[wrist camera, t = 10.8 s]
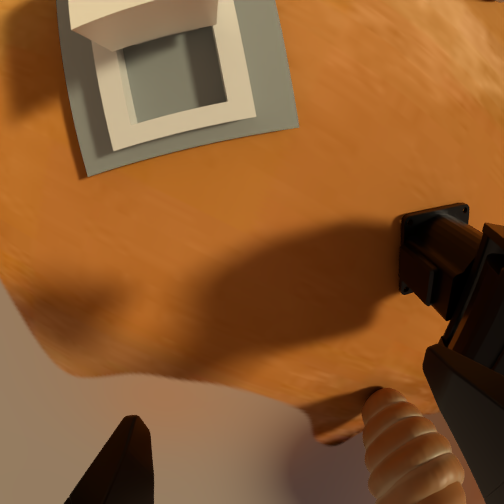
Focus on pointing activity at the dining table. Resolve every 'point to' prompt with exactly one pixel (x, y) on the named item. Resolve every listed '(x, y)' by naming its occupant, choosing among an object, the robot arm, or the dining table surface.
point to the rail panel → (178, 86)
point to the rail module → (138, 19)
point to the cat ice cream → (407, 454)
